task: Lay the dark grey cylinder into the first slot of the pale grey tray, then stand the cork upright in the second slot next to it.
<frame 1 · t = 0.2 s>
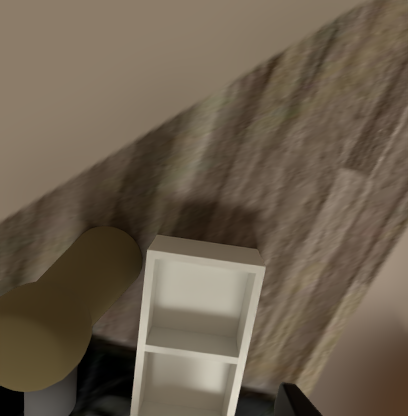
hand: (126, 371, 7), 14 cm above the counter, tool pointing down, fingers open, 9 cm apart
slot tray: (194, 326, 23), on the counter
cork: (108, 258, 22), on the counter
dark grey cylinder: (51, 377, 23), point 2 cm above the counter
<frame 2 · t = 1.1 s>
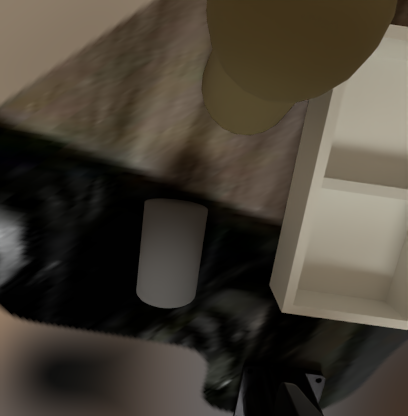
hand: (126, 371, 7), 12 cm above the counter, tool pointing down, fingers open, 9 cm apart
slot tray: (353, 186, 18), on the counter
cork: (248, 87, 17), on the counter
dark grey cylinder: (171, 249, 17), point 2 cm above the counter
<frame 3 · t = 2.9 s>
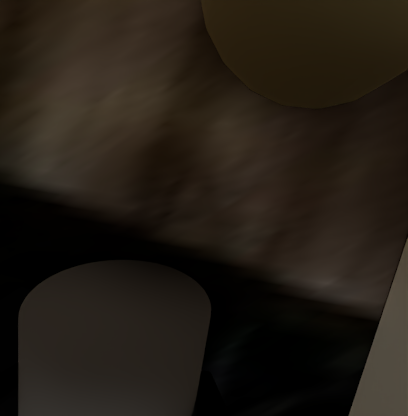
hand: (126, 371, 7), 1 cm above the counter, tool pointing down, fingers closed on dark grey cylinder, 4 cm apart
dark grey cylinder: (115, 402, 7), point 2 cm above the counter, touching gripper
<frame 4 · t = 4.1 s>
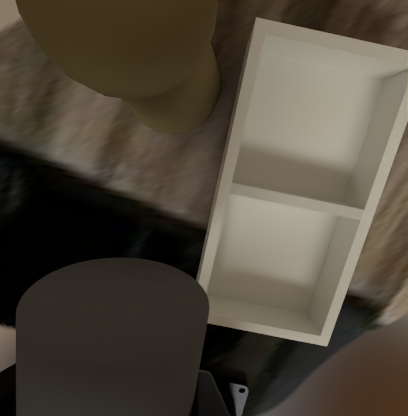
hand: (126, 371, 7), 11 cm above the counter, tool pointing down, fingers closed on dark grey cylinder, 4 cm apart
slot tray: (279, 193, 17), on the counter
cork: (172, 84, 16), on the counter
dark grey cylinder: (113, 400, 7), point 12 cm above the counter, touching gripper
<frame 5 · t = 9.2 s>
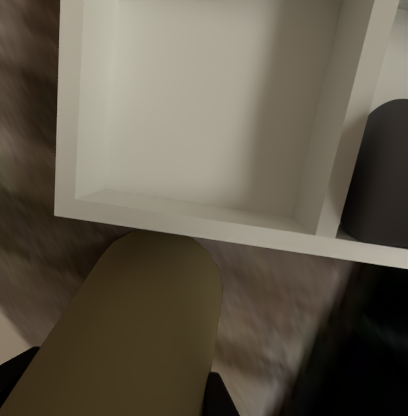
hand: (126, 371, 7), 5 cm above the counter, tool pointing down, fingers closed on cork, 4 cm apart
slot tray: (312, 123, 10), on the counter
cork: (158, 288, 12), on the counter, touching gripper
when the fingers open (7 cm above the counter, at t = 12.1 s): cork drops 1 cm, resting on slot tray.
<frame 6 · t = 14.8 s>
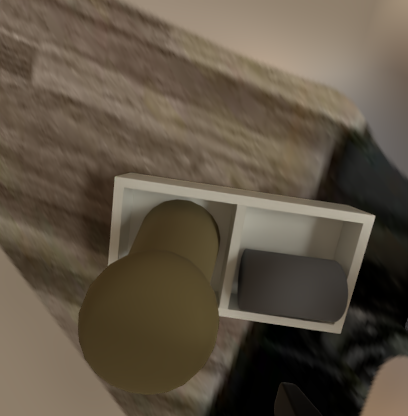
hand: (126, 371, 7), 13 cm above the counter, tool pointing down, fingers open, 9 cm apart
slot tray: (230, 242, 20), on the counter
cork: (179, 238, 19), point 1 cm above the counter, touching slot tray
dark grey cylinder: (287, 284, 17), point 3 cm above the counter, tilted 36°, touching slot tray
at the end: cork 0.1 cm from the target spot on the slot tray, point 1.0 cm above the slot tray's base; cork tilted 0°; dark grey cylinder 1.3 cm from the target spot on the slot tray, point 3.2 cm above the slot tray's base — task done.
